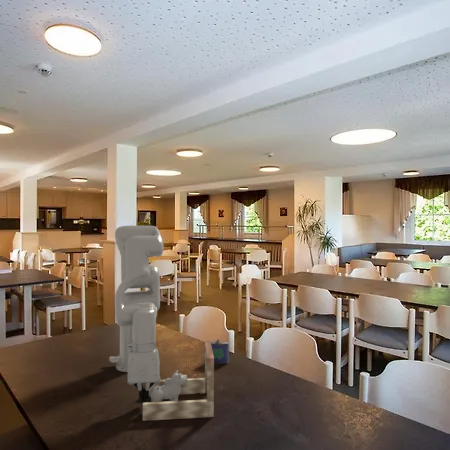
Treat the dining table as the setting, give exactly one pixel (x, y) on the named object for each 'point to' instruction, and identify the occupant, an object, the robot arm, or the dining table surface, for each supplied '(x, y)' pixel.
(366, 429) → the dining table surface
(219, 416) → the dining table surface
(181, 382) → the dog figurine
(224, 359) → the flask
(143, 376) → the robot arm
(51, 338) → the dining table surface
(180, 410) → the channel
